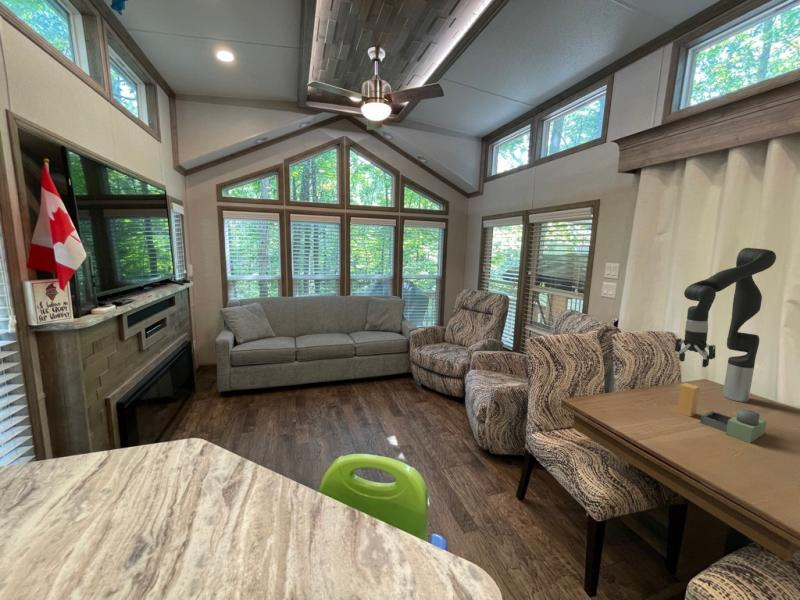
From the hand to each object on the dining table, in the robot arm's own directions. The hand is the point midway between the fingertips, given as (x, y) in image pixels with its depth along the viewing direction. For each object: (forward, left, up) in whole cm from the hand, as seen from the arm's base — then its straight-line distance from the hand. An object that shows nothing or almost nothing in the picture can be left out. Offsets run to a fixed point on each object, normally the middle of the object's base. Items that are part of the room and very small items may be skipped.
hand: (693, 363), depth 153 cm
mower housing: (+13, +18, -21) cm, 31 cm away
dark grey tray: (+11, +11, -21) cm, 26 cm away
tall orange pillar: (+7, 0, -22) cm, 22 cm away
